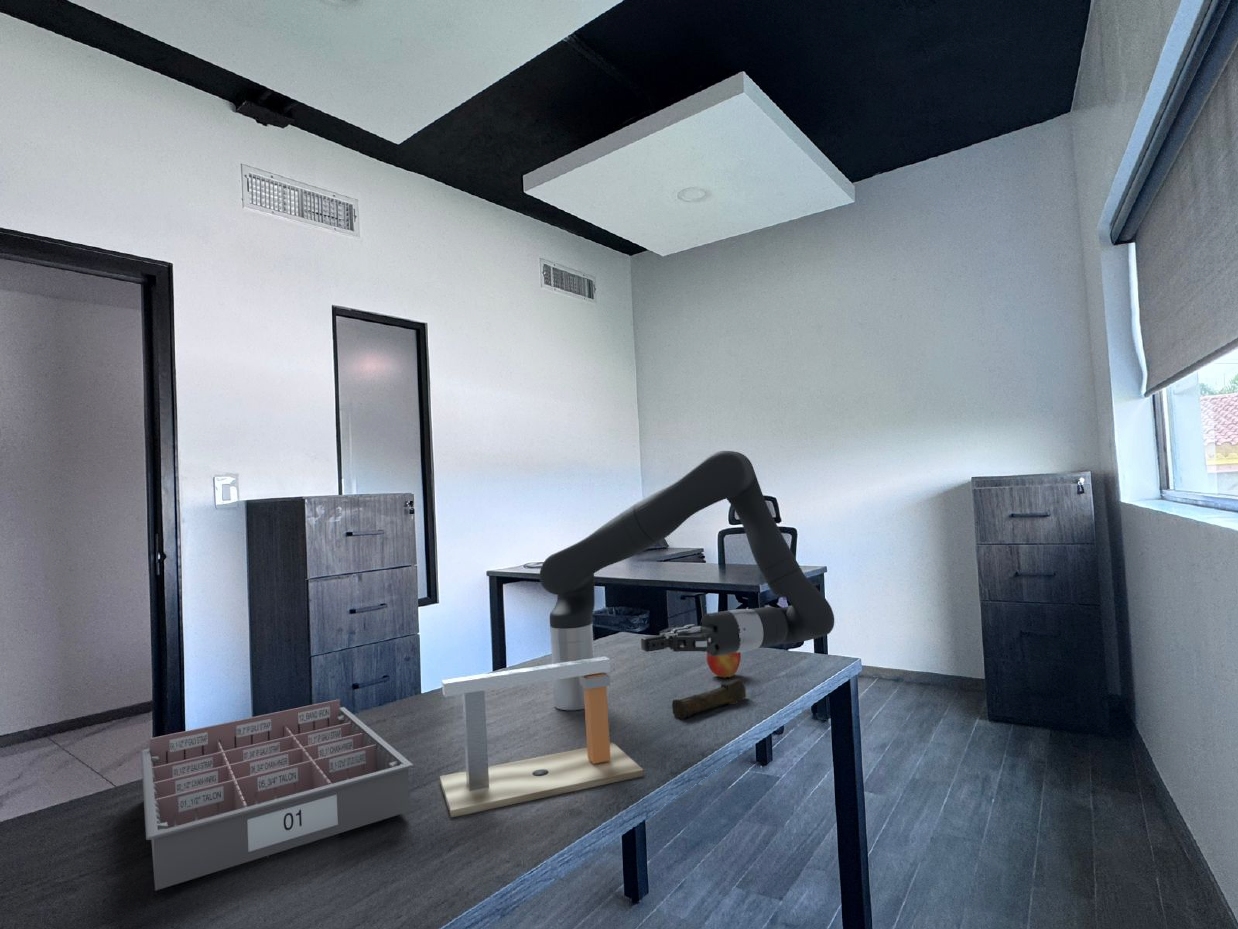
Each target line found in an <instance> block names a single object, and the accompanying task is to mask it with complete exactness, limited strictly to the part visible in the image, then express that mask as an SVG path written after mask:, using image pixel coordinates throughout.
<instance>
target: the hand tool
mask: <svg viewBox="0 0 1238 929" xmlns="http://www.w3.org/2000/svg"><path fill="white" fill-rule="evenodd" d="M746 691H747V690H746V687H745V683H744V682H743V680H742V679H740V678H736V679H735V678H734V679H731V680H727V681H726V680H725V681H724V682H721V683H720V687H717V688H715V689H711V690H708V691H705V692H702V693H699V694H694V695H691V696H686V697H684V698H681V699H673V700H672V702H671V707H672V708H671V709H672V714H673V715H674V718H676V717H677V719H678V718H679V719H678V720H685V719H686V717H687V718H691V716H692V715H694V714H698V713H700V712H703V711H707V710H710V709H712V708H713V709H714V708H717V707H718V706H721V705H725V704H728V705H727V706H732V705H731V704H733V705H735V704H737V703H736V702H738V703H739V702H741V701H742V699H743V698H744V699H745V698H747V695H746V694H747V692H746ZM744 699H743V700H744ZM734 703H735V704H734Z"/></svg>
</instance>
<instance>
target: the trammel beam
mask: <svg viewBox="0 0 1238 929" xmlns="http://www.w3.org/2000/svg"><path fill="white" fill-rule="evenodd" d="M603 672H604V673H608V672H611V659H610V658H609V657H607V656H600V657H599V656H597V657H594V658H590V659H583V660H577V661H570V662H563V663H556V664H552V663H551V664H543V665H538V666H536V665H535V666H530V667H523V668H522V667H521V668H516V669H509V670H503V671H497V672H495V671H494V672H490V673H483V674H475V675H470V676H461V677H455V678H449V679H448V678H447V679H442V680H441V684H442V694H443V696H444V698H446V697H453V696H460V695H462V696H461V697H462V698H461V699H462V713H463V714H462V718H463V737H464V756H465V771H466V781H467V786H468V789H469V791H473V790H478V789H483V788H487V787H489V773H488V767H489V759H488V758H489V757H488V738H487V737H488V736H487V720H486V719H487V718H486V717H487V716H486V697H485V691H486V692H487V691H492V690H493V691H494V690H497V689H499V690H500V689H505V688H512V687H519V686H524V685H525V686H526V685H529V684H536V683H542V682H543V683H545V682H549V681H553V680H557V679H564V678H570V677H577V676H583V675H590V674H596V673H603Z"/></svg>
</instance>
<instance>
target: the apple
mask: <svg viewBox="0 0 1238 929" xmlns="http://www.w3.org/2000/svg"><path fill="white" fill-rule="evenodd" d="M706 662H707V666H708V668H709V670H710V671H711V672H712V674H714V675H715V676H717V677H720V678H722V677H723V679H727V678H726V677H729V678H731V677H733V676H735V675H736V674H737V672H738V669H739V667H740V663H741V652H739V653H733V654H727V655H720V656H711V655H709V654H708V653H707V652H706Z"/></svg>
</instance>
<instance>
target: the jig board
mask: <svg viewBox="0 0 1238 929" xmlns="http://www.w3.org/2000/svg"><path fill="white" fill-rule="evenodd" d="M610 757H611V760H610V761H605V762H600V763H595V764H593V763H592V762H591V761H590V760H589V759H588V755H587V747H584V748H578V749H573V750H567V751H562V752H557V753H553V754H552V753H551V754H547V755H543V756H542V755H541V756H536V757H532V758H531V757H530V758H526V759H522V760H516V761H515V760H514V761H512V762H505V763H501V764H500V763H499V764H496V765H495V764H494V765H490V766H489V765H488V773H489V787H487V788H483V789H478V790H473V791H469V789H468V786H467V781H466V770H465V771H459V772H455V773H449V774H443V775H439V783H440V786H441V790H442V793H443V796H444V800H445V803H446V805H447V808H448V811H449V814H450V815H449V816H450V818H455V817H460V816H464V815H469V814H474V813H478V812H484V811H488V810H492V809H497V808H501V807H507V806H510V805H516V804H520V803H524V802H525V803H526V802H529V801H534V800H539V799H542V798H544V799H545V798H548V797H553V796H558V795H562V794H566V793H571V792H576V791H580V790H584V789H590V788H594V787H599V786H603V785H608V784H612V783H617V782H622V781H626V780H632V779H636V778H640V777H644V776H645V775H644V774H645V773H644V768H642V767H641V766H640V765H639V764H638V763H637V762H636V761H634V760H633V758H631V757H630V756H629V755H627V753H625V752H624V751H623V750H622V749H621V748H620V747H619V746H617V745H616V744H615V743H614V742H610Z"/></svg>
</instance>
